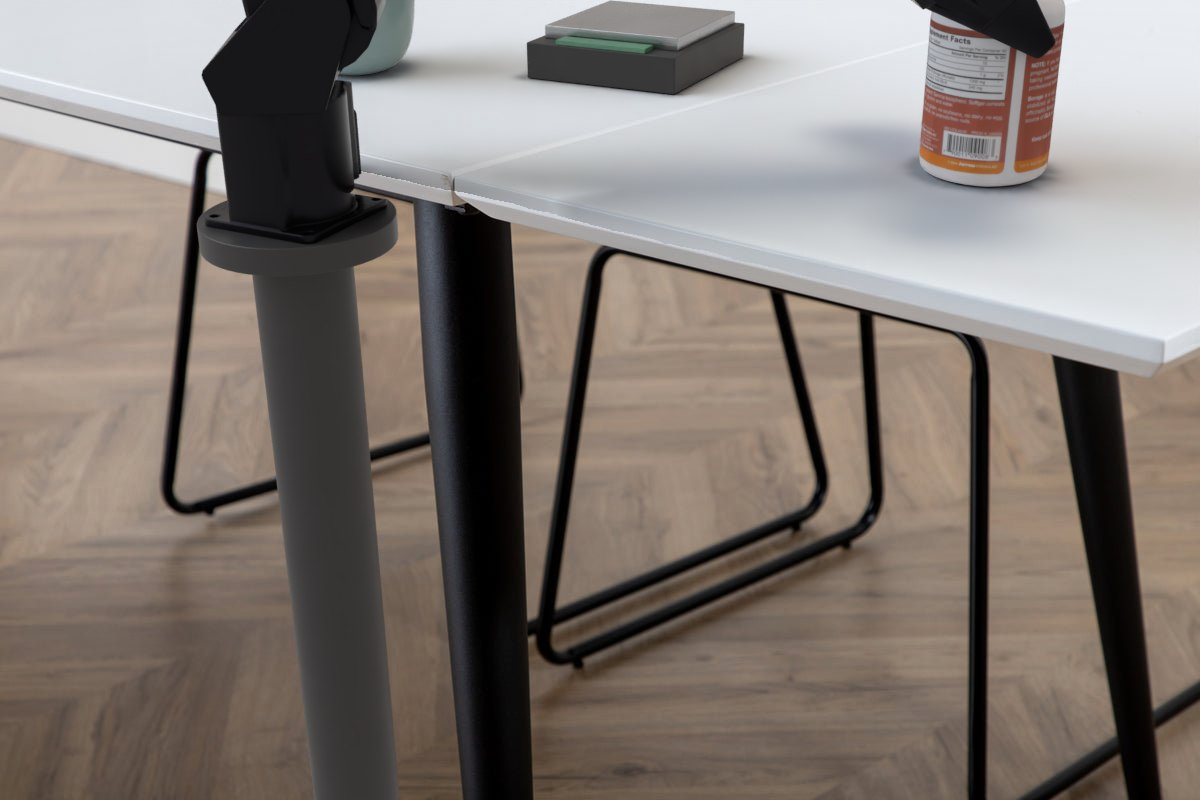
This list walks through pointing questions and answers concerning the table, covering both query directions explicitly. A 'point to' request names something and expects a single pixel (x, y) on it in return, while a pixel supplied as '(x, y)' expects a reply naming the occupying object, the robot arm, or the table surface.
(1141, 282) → the table surface
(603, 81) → the kitchen scale
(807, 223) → the table surface
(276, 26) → the robot arm
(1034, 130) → the pill bottle
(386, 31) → the cup
